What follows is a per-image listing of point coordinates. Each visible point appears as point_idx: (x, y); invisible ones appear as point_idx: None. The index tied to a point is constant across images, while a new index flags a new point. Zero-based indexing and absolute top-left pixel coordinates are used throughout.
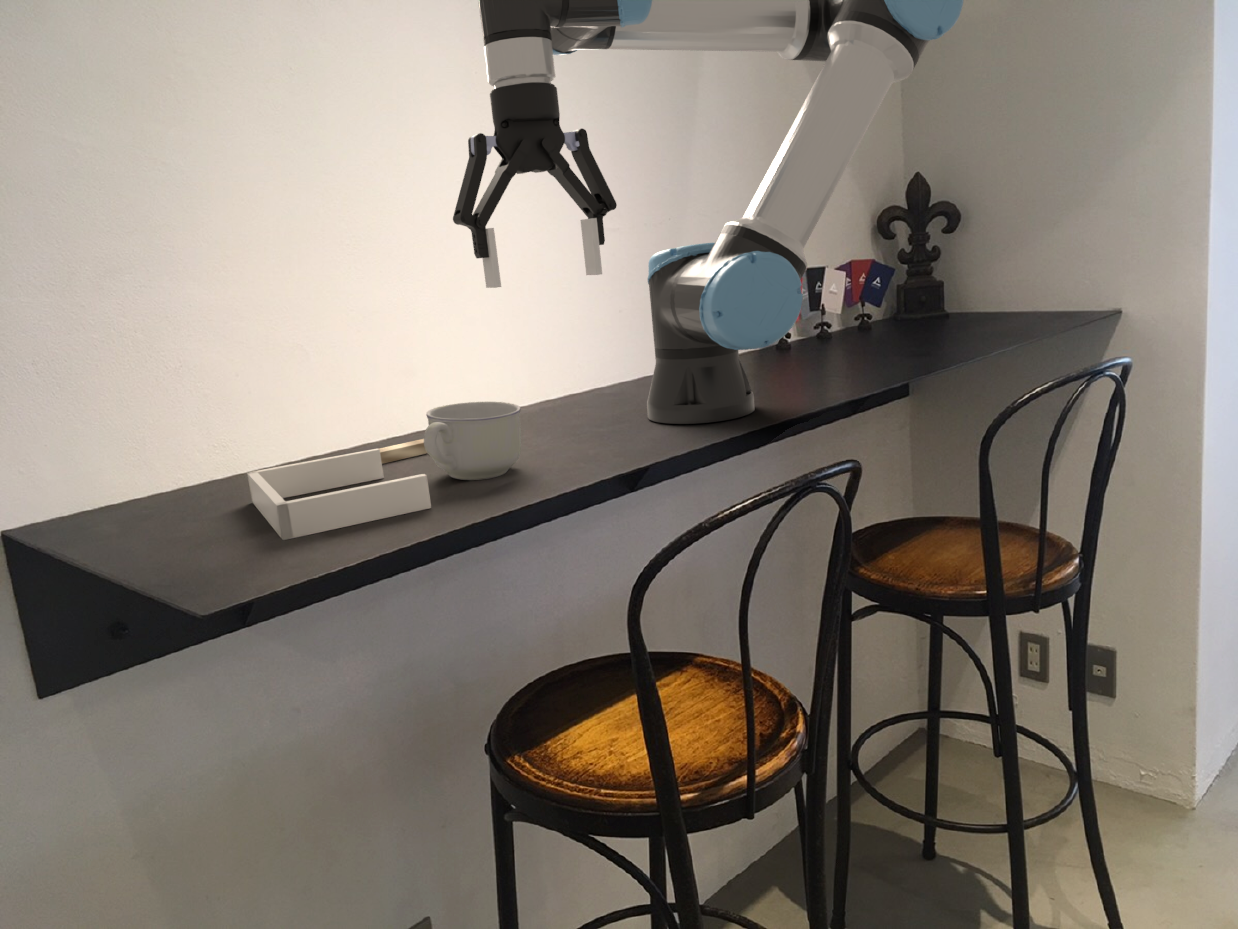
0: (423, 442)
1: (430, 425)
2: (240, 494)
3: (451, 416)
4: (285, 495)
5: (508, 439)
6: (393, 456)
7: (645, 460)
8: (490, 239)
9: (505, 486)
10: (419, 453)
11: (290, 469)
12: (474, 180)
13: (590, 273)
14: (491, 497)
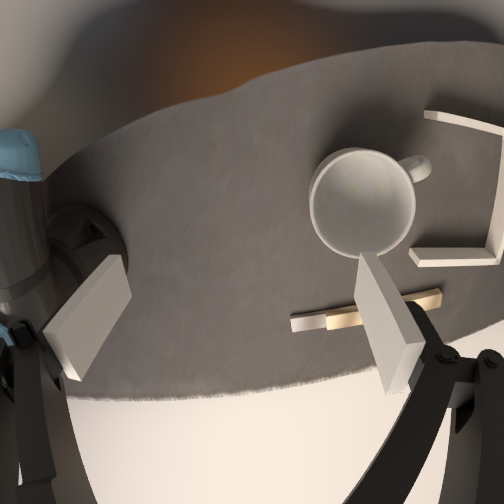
0: (346, 314)
1: (428, 171)
2: (479, 284)
3: (368, 247)
4: (474, 248)
5: (340, 151)
6: None
7: (199, 106)
8: (409, 318)
9: (351, 120)
10: (351, 306)
11: (478, 257)
12: (500, 470)
13: (125, 282)
14: (375, 95)
